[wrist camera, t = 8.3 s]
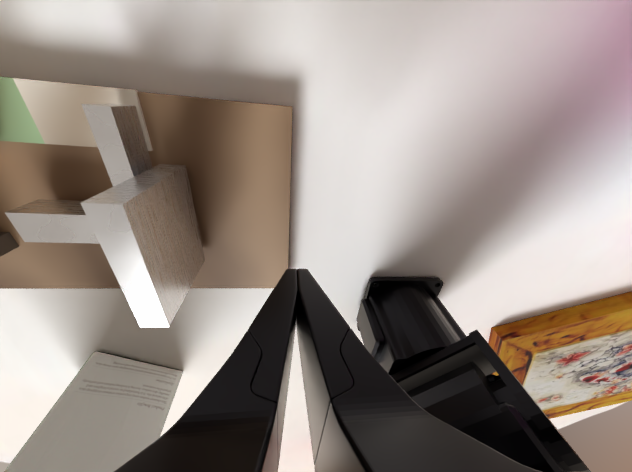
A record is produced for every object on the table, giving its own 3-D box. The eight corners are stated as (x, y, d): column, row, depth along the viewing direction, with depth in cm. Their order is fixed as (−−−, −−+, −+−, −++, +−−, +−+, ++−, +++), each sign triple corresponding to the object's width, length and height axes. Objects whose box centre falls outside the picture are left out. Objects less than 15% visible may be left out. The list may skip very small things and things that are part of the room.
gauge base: (292, 104, 12) (292, 108, 7) (287, 277, 18) (285, 350, 13) (-239, 53, 9) (-922, -7, 4) (-34, 276, 16) (-202, 366, 10)
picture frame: (502, 340, 23) (834, 257, 21) (487, 323, 25) (790, 244, 23) (480, 434, 37) (677, 390, 35) (471, 418, 39) (658, 375, 37)
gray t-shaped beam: (174, 109, 10) (88, 116, 6) (205, 260, 14) (168, 327, 10) (-24, 91, 9) (-294, 84, 5) (72, 258, 14) (-29, 331, 9)
